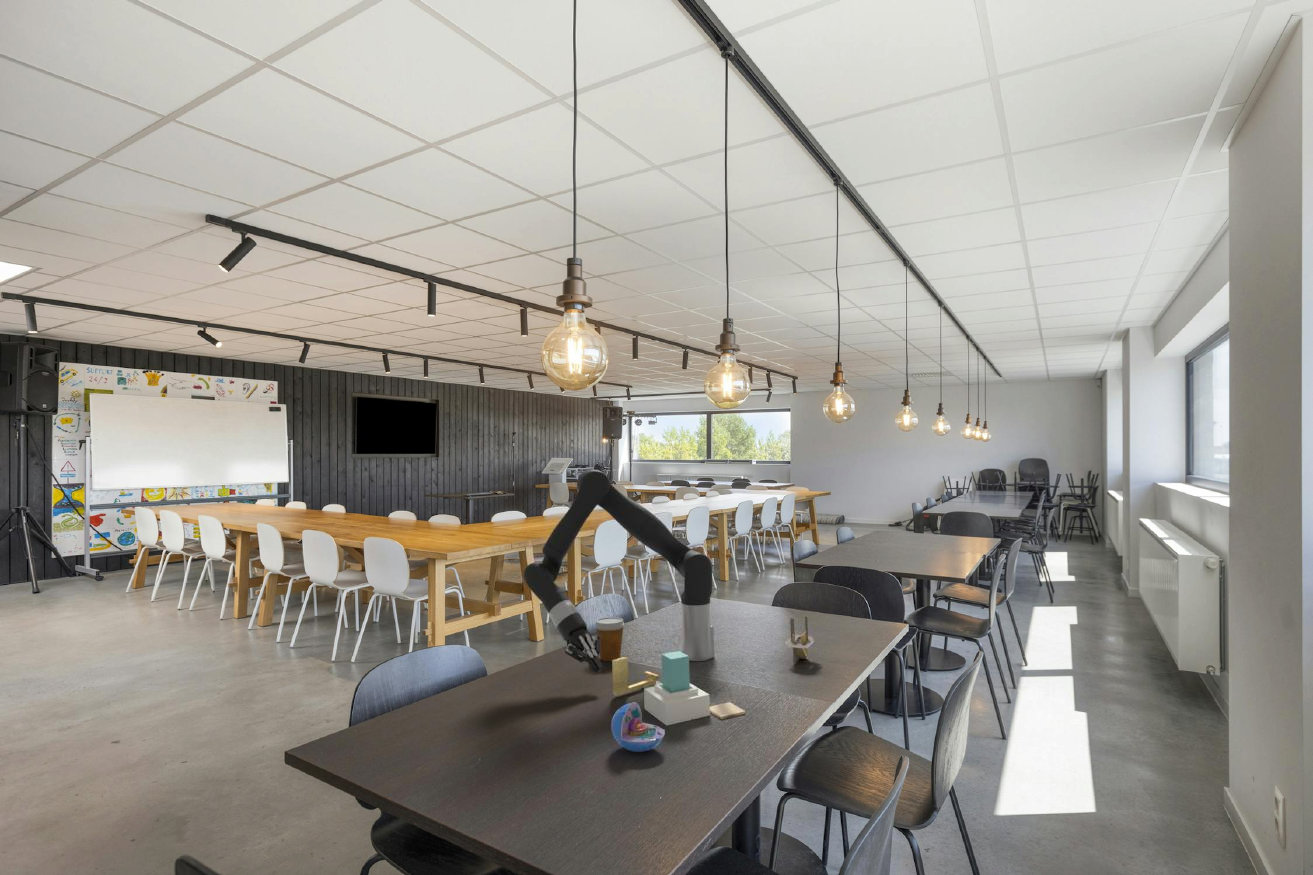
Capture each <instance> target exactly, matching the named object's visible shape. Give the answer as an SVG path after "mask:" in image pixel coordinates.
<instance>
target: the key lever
mask: <svg viewBox="0 0 1313 875" xmlns="http://www.w3.org/2000/svg"><path fill="white" fill-rule="evenodd" d="M611 662H612V664H611V665H612V666H611V667H612V695H613V696H617V697H618V696H621V695H624V694H627V693H629V692H631V691H634V690H638V689H641V688H642V687H644V686H647V685H655V684H656V681H657V680H659V679H660V675H659V674H657V673H653V672H651V671H644V673H643V674H644V677H647V678H646V680H643V681H640V682H637V683H633V684H630V685H629V658H628V657H626V656H622V657H620V658H618V659H615V660H612V661H611Z"/></svg>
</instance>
